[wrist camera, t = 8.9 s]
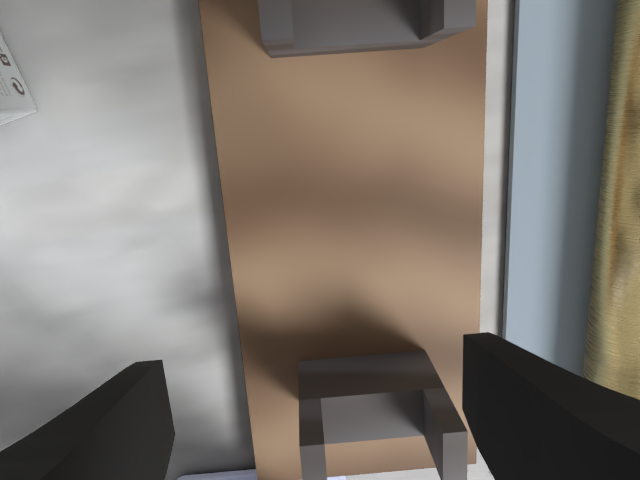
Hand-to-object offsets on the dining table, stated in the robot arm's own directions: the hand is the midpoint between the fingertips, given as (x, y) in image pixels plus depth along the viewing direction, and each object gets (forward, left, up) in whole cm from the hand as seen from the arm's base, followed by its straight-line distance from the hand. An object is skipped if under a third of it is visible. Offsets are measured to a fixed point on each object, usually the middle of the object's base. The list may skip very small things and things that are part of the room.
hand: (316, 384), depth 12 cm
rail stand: (+2, -2, -9) cm, 10 cm away
